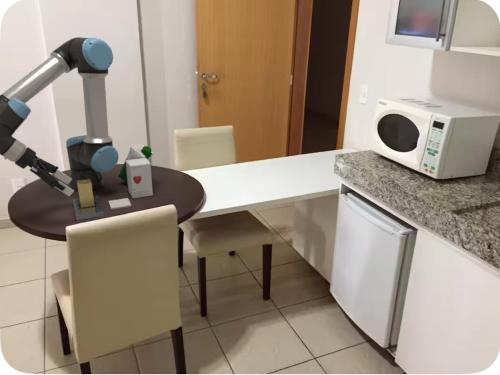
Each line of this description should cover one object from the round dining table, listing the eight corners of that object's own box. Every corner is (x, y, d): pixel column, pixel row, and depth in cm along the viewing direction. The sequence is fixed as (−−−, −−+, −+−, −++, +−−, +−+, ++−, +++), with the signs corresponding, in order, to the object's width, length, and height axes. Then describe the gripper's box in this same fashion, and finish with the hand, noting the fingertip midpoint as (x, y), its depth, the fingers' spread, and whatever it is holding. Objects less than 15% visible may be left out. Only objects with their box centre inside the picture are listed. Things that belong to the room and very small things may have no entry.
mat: (108, 202, 178) (108, 200, 178) (128, 199, 181) (127, 198, 181) (111, 209, 171) (111, 208, 171) (131, 206, 174) (131, 204, 174)
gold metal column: (81, 208, 172) (76, 180, 168) (93, 206, 174) (90, 178, 170) (82, 213, 168) (77, 184, 164) (95, 210, 170) (91, 182, 166)
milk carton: (129, 187, 195) (145, 154, 185) (115, 175, 196) (130, 142, 186) (141, 181, 203) (157, 149, 193) (127, 170, 204) (142, 137, 194)
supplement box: (132, 199, 182) (129, 165, 176) (128, 191, 189) (124, 159, 184) (153, 195, 185) (150, 162, 180) (148, 188, 193) (145, 157, 187)
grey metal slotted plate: (73, 203, 177) (72, 198, 176) (98, 199, 181) (97, 195, 180) (76, 220, 161) (75, 215, 161) (103, 216, 165) (103, 211, 165)
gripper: (15, 153, 164) (63, 184, 175) (11, 172, 143) (65, 206, 154) (28, 138, 164) (75, 170, 175) (25, 156, 143) (79, 191, 154)
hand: (70, 187), depth 165 cm, fingers open, 13 cm apart
